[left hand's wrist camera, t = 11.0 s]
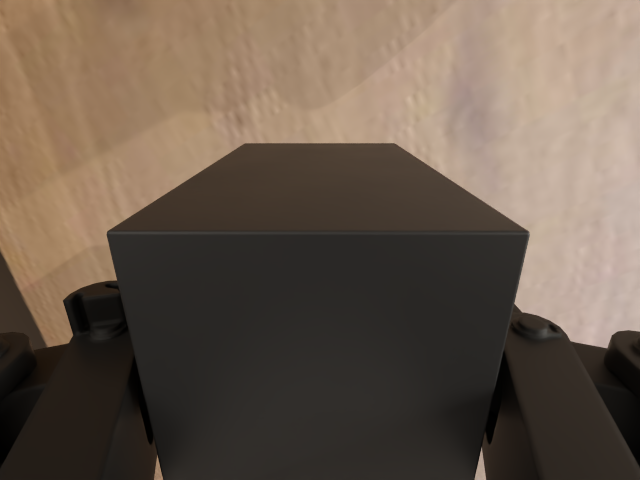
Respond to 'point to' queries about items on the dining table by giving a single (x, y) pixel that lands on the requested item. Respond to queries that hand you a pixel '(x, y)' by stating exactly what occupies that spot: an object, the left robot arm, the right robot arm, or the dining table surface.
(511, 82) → the dining table surface
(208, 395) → the bar
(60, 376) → the left robot arm
